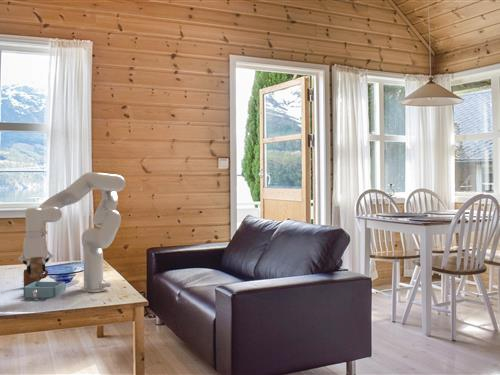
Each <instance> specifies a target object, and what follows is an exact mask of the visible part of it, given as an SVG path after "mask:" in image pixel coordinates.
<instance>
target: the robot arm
mask: <svg viewBox="0 0 500 375" xmlns="http://www.w3.org/2000/svg"><path fill="white" fill-rule="evenodd" d="M125 187H126V180H125V178H124V177H123V176H121V175H120V174H112V173H104V172H98V171H97V172H94V171H93V172H89V171H88V172H85V173H84V174H82V175H81V176H80V177H79V178H77V179H76V180H75V181H74V182H73V183H71V184H70V185H69V186H67V187H66V188H65V189H63V190H61V191H59V192H58V193H56V194H54V195H52V196H50V197H49V198H47V199H46V200H45V201H43V203H41V204H40V205H39V206H38V207H28V208H26V209H25V212H24V214H25V215H24V216H25V237H24V238H23V247H22V253H21V255H20V256H18V261H20V262H21V263H23V264H24V265H25V266H26V269H27V273H29V275H30V274H31V266H30V258H37V257H42V265H43V274H45V272H44V271H45V269H46V265H47V263H48V262H49V261H50V260H51V259H52V258H54V257H53V256H54V255H52V253H51V252H50V251H49V250H48V243H47V239H46V236H45V235H47V234H48V231H47V230H44V228H45V227H44V223H56V222H58V221H60V220H61V219H62V216H63V213H62V212H63V211H62V210H61V209H62V208H65V207H67V206H70V205H73V204H76V203H79V202H80V201H81V200H82V199H84V197H85V196H86V195H88V193H90V192H91V191H93V190H100V192H101V199H100V202H99V203H98V207H97V209H96V210H95V213H94V215H93V218H92V222H93V224H94V225H95V227H89V228H87V229H85V230H84V231H83V232H82V235H81V245H82V251H83V286H82V287H80V289H79V290H80V291H83V292H88V293H101V292H104V291H106V290H107V288H111V287H112V282H106V280H105V279H104V252H103V249H107V248H108V247H110V245H112V243H113V241H114V240H115V237H116V234H117V232H118V231H119V228H120V225H121V223H122V217H121V214H120V212H119V211H118V210H116V209H117V206H118V204H119V203H118V202H119V196H118V192H121V191H122V190H124V189H125ZM96 227H97V228H96ZM98 227H99V228H98ZM23 258H24V259H23Z"/></svg>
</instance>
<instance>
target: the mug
mask: <svg viewBox="0 0 500 375" xmlns="http://www.w3.org/2000/svg"><path fill="white" fill-rule="evenodd" d="M48 275H49V270H48V269H46V268H45V271H44V273H43V277H34V278H31V277H30V275H29V273H27V268H26V269H23V287H25V286H27V285H29V284H31V283H34V282H41V281H42V280H43V279H46V278H47V277H48Z"/></svg>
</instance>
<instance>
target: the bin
mask: <svg viewBox="0 0 500 375" xmlns="http://www.w3.org/2000/svg"><path fill="white" fill-rule="evenodd" d="M66 285H67V284H66V281H39V282H34V283H31V284H29V285H27V286H25V287H24V286H23V298H27V297H34V296H33V291H34V290H37V298H57V297H58V296H60V295H61V294H63V293H64V292H66Z"/></svg>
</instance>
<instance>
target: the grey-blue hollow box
mask: <svg viewBox="0 0 500 375" xmlns="http://www.w3.org/2000/svg"><path fill="white" fill-rule="evenodd" d="M33 296H34V297H24V298H23V299H21V300H20V302H45V301H47V300H49V299H50V297H37V290H34V291H33Z"/></svg>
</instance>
